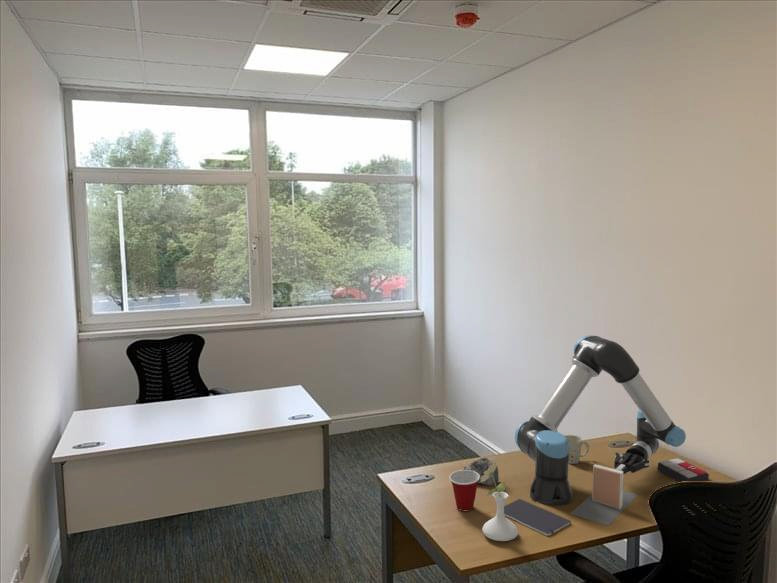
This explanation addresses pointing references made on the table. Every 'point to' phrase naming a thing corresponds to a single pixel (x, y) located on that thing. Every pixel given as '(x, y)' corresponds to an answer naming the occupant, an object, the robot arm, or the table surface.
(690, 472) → the calculator
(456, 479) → the plastic cup
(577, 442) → the mug
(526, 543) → the table surface
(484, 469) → the mineral rock
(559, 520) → the notebook
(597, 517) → the mat
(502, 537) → the flower in vase
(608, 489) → the tile
